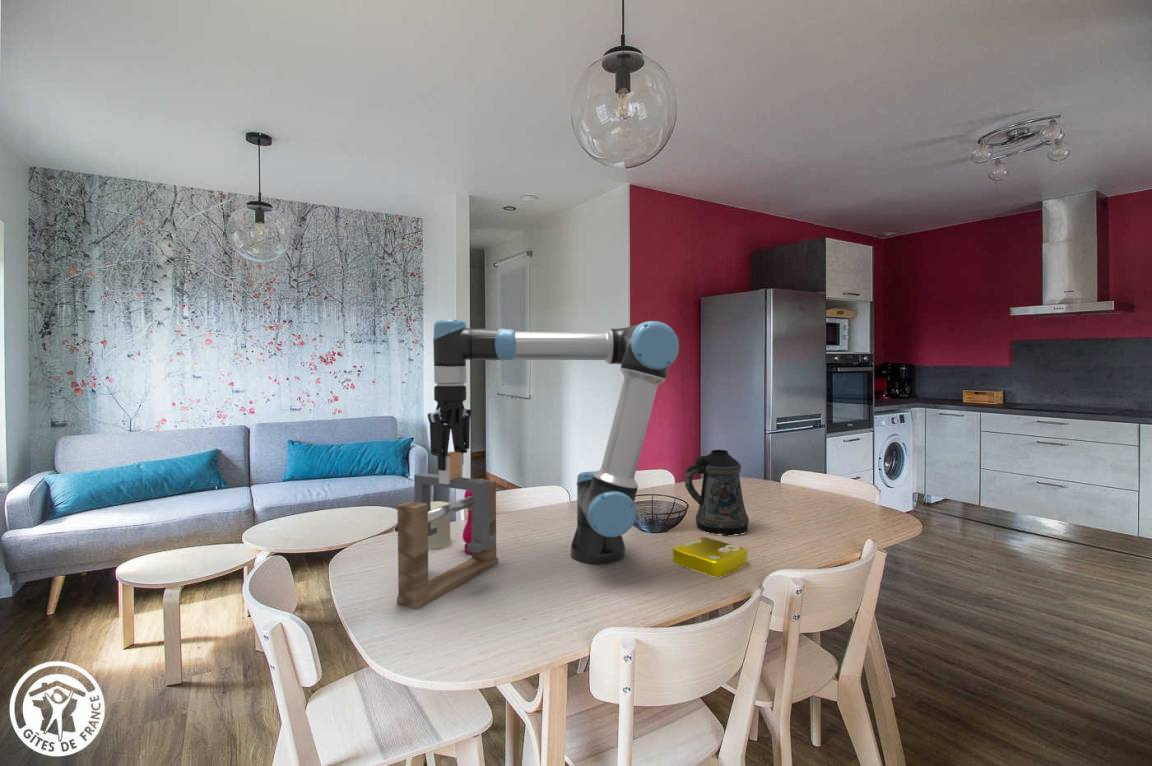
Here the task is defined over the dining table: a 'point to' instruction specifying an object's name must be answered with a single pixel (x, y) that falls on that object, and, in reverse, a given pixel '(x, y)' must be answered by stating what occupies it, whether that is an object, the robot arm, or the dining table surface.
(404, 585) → the rack
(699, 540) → the element tile
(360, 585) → the dining table surface
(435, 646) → the dining table surface
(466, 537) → the pepper mill
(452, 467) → the grey arch gate
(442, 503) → the can
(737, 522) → the beer stein
